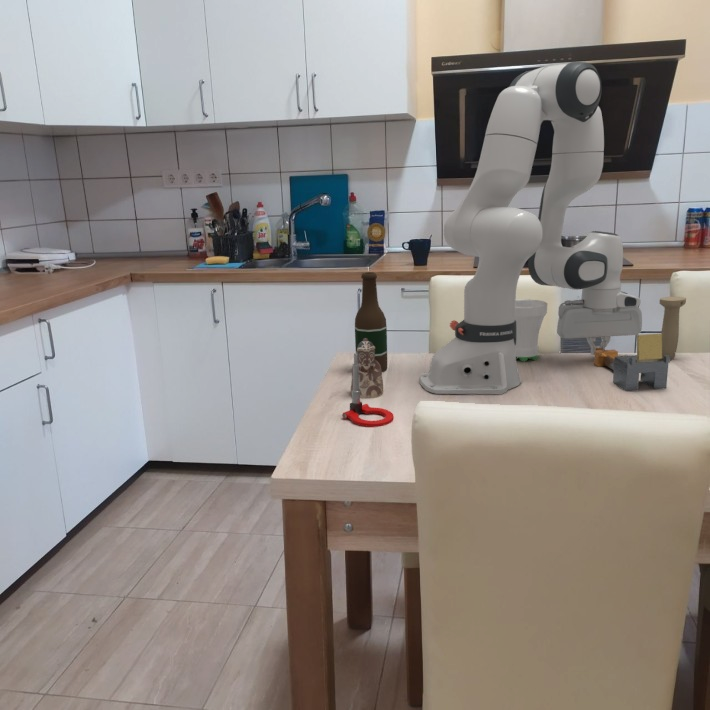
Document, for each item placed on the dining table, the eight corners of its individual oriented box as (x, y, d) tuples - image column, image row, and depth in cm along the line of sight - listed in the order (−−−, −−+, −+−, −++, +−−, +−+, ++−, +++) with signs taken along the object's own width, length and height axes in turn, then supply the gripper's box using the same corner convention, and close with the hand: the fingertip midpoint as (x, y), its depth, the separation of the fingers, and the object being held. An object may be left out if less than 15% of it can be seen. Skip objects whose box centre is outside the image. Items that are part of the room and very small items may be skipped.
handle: (684, 358, 165) (690, 298, 161) (668, 362, 162) (673, 301, 158) (667, 354, 169) (672, 295, 166) (650, 358, 166) (655, 298, 162)
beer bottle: (385, 374, 161) (383, 275, 155) (353, 374, 162) (350, 275, 156) (389, 365, 168) (387, 270, 162) (358, 365, 170) (355, 270, 164)
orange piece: (616, 378, 151) (617, 363, 151) (594, 364, 163) (594, 350, 162) (637, 377, 152) (638, 362, 151) (613, 363, 163) (614, 349, 162)
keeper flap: (636, 335, 140) (634, 335, 141) (636, 363, 141) (634, 362, 141) (664, 333, 141) (662, 333, 141) (664, 361, 141) (662, 361, 142)
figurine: (348, 398, 145) (346, 344, 142) (353, 388, 152) (351, 336, 149) (381, 398, 144) (380, 344, 141) (384, 388, 151) (383, 336, 148)
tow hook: (402, 420, 132) (367, 408, 138) (403, 357, 129) (367, 348, 135) (374, 432, 126) (338, 420, 132) (374, 367, 123) (337, 357, 129)
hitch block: (628, 392, 142) (630, 358, 140) (612, 382, 149) (615, 350, 147) (669, 389, 143) (672, 356, 141) (652, 380, 150) (654, 348, 148)
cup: (501, 363, 167) (502, 307, 163) (498, 352, 177) (499, 299, 174) (548, 363, 165) (550, 307, 161) (542, 352, 176) (544, 298, 172)
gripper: (564, 303, 159) (561, 359, 162) (647, 298, 160) (643, 354, 164) (554, 298, 165) (551, 353, 169) (634, 294, 166) (630, 348, 170)
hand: (597, 353), depth 166 cm, fingers closed
